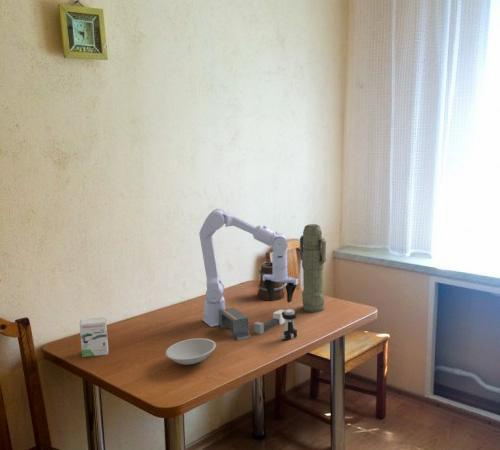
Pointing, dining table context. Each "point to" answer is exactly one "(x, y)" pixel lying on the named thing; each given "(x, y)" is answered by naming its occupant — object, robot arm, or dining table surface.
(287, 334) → the push button
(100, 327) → the ink box
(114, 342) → the dining table surface
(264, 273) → the mug
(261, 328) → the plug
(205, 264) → the robot arm
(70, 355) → the dining table surface
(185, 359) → the dish
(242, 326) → the motor housing
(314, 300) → the thermos
